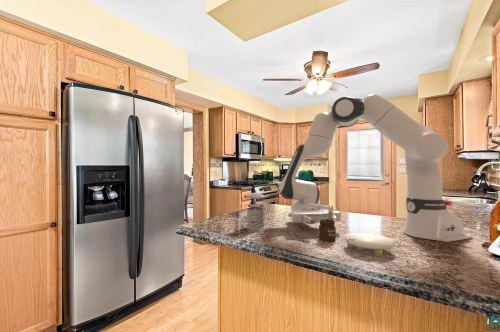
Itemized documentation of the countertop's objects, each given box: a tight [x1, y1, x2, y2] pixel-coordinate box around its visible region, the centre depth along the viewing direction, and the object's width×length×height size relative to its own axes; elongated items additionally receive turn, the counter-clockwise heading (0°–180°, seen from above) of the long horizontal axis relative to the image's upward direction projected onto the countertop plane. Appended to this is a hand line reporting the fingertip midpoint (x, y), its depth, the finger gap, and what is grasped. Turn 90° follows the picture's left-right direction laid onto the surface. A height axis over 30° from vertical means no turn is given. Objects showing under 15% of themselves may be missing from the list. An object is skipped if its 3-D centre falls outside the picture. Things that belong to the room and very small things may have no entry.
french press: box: [245, 170, 271, 231], centre depth 107 cm, size 10×12×25 cm
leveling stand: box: [344, 232, 394, 258], centre depth 78 cm, size 14×14×4 cm
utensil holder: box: [318, 205, 337, 243], centre depth 89 cm, size 6×6×12 cm
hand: (323, 220), depth 92 cm, fingers open, 8 cm apart
